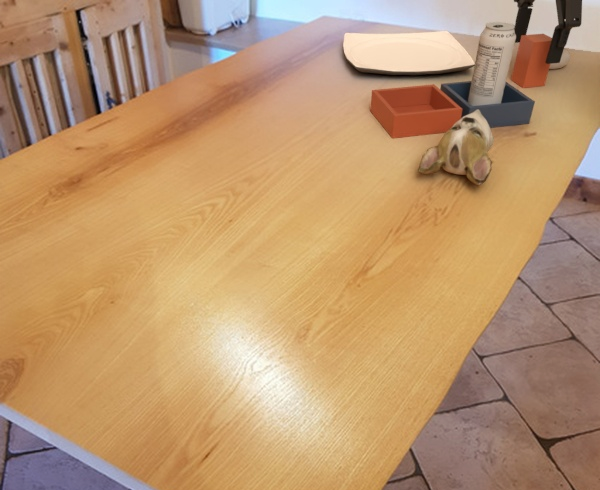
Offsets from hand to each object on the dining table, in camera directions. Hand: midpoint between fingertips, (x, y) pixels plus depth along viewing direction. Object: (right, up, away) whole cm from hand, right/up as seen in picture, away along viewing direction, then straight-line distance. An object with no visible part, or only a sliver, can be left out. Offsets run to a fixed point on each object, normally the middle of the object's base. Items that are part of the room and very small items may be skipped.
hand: (534, 52), depth 113 cm
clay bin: (-27, -18, -11) cm, 34 cm away
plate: (-24, +5, +16) cm, 29 cm away
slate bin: (-14, -16, -8) cm, 22 cm away
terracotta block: (0, -5, +4) cm, 6 cm away
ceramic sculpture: (-23, -31, -25) cm, 46 cm away
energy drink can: (-14, -15, -9) cm, 22 cm away
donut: (+8, +3, +13) cm, 15 cm away
